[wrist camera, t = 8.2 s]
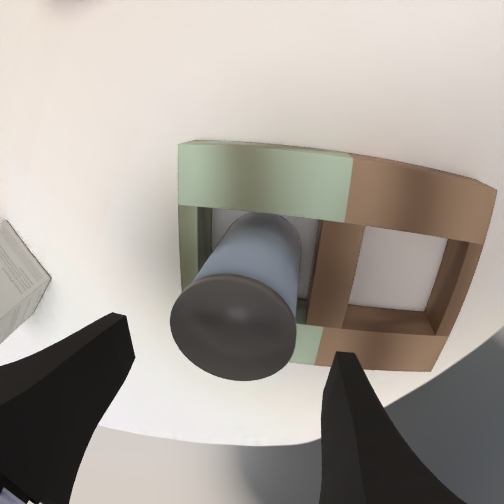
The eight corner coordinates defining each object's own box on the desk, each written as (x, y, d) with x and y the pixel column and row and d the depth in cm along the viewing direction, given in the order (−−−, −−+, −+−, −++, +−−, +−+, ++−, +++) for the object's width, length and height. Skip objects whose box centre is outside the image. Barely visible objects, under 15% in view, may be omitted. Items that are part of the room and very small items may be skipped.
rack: (475, 179, 14) (497, 190, 12) (422, 347, 19) (430, 371, 17) (195, 140, 16) (177, 144, 14) (198, 322, 21) (186, 345, 19)
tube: (308, 215, 17) (306, 292, 10) (296, 288, 19) (285, 389, 12) (225, 204, 17) (166, 270, 10) (221, 277, 19) (174, 367, 12)
